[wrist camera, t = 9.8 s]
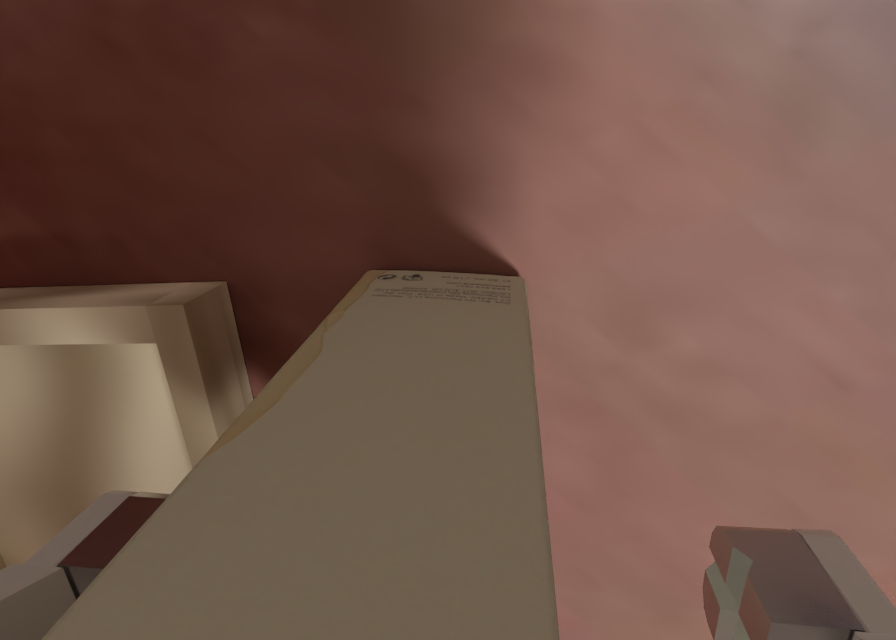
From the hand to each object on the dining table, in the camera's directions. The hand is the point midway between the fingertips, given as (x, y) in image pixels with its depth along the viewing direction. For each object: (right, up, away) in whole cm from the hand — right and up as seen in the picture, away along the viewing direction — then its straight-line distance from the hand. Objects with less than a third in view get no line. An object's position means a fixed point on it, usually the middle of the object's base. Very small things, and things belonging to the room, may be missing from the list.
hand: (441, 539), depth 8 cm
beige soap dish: (-12, -1, +9) cm, 15 cm away
